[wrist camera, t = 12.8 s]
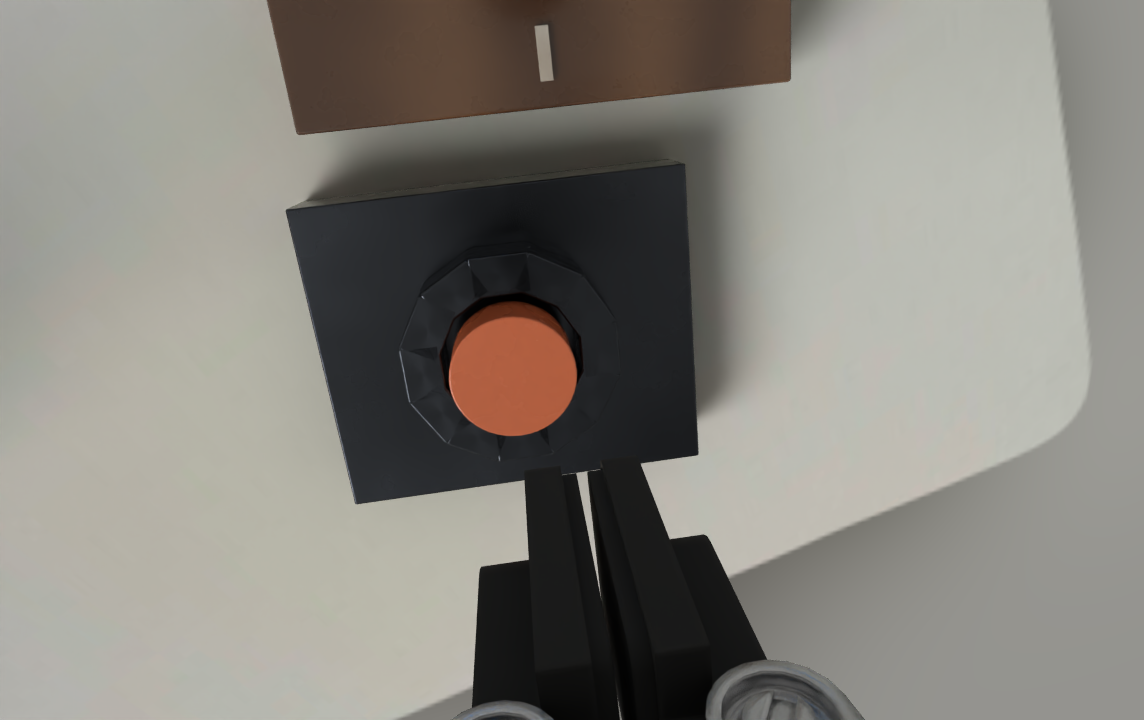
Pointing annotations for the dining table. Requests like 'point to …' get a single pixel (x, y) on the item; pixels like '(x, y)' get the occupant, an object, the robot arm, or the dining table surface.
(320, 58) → the dial panel
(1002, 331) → the dining table surface
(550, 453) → the black button base
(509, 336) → the push knob
